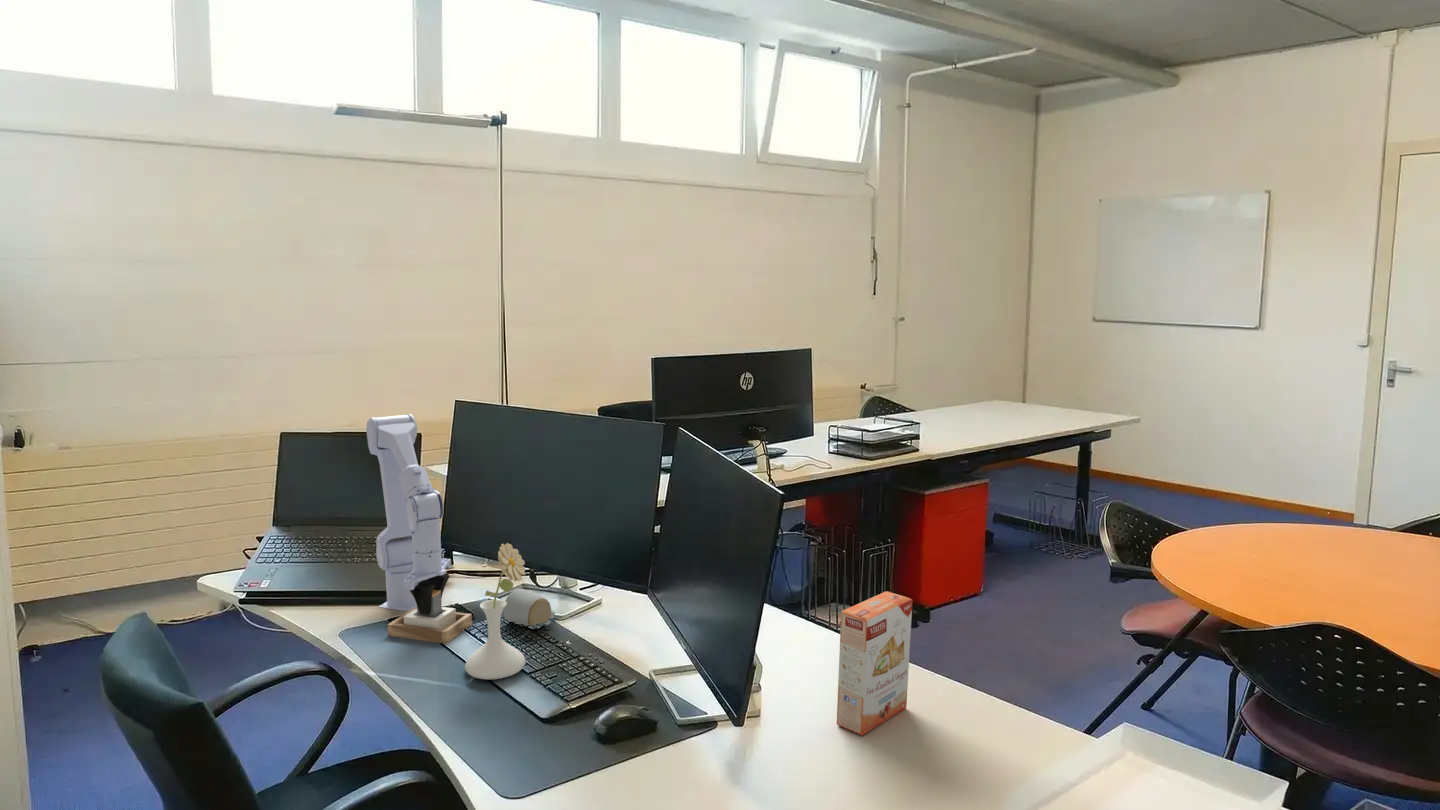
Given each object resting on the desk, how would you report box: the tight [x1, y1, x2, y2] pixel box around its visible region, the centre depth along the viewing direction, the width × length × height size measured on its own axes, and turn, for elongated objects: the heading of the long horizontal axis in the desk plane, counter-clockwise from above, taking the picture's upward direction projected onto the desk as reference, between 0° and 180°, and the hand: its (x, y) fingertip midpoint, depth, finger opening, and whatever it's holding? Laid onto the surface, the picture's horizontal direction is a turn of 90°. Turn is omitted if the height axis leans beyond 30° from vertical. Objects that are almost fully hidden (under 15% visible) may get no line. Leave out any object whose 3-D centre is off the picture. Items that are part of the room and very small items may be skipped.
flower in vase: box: [464, 542, 526, 680], centre depth 172 cm, size 13×11×25 cm
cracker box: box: [836, 590, 914, 736], centre depth 155 cm, size 14×6×21 cm, turn 136°
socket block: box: [404, 606, 457, 630], centre depth 191 cm, size 7×8×4 cm
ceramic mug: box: [502, 588, 556, 625], centre depth 196 cm, size 11×8×8 cm
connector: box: [416, 590, 443, 618], centre depth 191 cm, size 3×4×7 cm
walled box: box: [386, 606, 473, 645], centre depth 191 cm, size 10×14×3 cm
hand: (429, 610), depth 191 cm, fingers open, 3 cm apart
